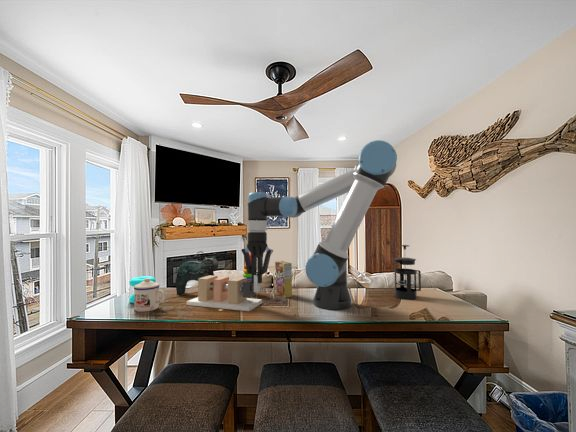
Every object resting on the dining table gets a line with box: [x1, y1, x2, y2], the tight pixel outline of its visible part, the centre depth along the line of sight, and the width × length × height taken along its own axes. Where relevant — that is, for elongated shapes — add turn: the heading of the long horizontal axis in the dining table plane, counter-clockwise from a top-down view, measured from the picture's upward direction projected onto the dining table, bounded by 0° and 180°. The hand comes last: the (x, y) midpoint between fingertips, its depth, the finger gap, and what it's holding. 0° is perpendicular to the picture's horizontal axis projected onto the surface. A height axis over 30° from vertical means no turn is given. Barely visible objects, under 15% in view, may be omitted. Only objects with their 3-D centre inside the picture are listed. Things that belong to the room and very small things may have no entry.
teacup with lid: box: [133, 278, 166, 313], centre depth 114 cm, size 12×9×12 cm
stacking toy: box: [242, 253, 258, 296], centre depth 137 cm, size 8×8×19 cm
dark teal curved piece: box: [175, 251, 219, 295], centre depth 138 cm, size 20×6×20 cm, turn 81°
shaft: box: [210, 280, 256, 299], centre depth 120 cm, size 21×5×6 cm, turn 71°
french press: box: [394, 244, 422, 301], centre depth 130 cm, size 12×9×23 cm
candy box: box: [274, 260, 293, 299], centre depth 134 cm, size 9×4×15 cm, turn 29°
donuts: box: [128, 275, 156, 304], centre depth 126 cm, size 10×10×10 cm
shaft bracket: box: [186, 275, 263, 312], centre depth 120 cm, size 28×12×10 cm, turn 71°
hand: (256, 291), depth 116 cm, fingers closed
